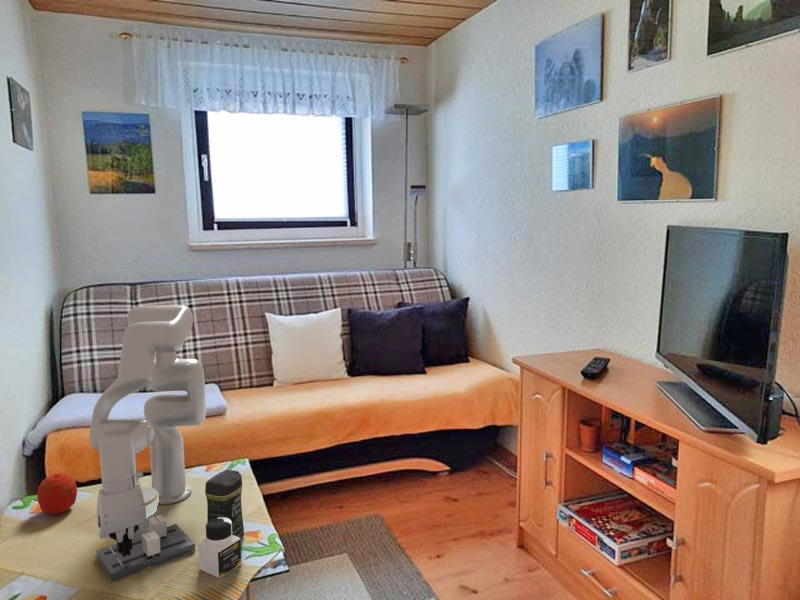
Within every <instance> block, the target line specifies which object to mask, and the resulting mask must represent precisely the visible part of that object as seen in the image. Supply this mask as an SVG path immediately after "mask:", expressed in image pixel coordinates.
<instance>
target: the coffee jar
mask: <svg viewBox="0 0 800 600" xmlns="http://www.w3.org/2000/svg"><path fill="white" fill-rule="evenodd" d="M204 491H205V493H204V494H205V498H206V503H207V507H206V508H207V516H206V517H207V521H206V522H207V523H208V522H209V521H210V520H212V519H214V518H218V517H226V518H229V519H230V520H231V521H232V535H234V536H237V537H239V538H240V540H243V537H244V535H245V527H244V519H243V508H242V507H243V506H242V491H243V477H242V473H240V472H239V471H238V470H232V469H224V470H223V471H221V472H218V473H217V474H215V475H214V476H212V477H211V478H209V479H207V481H205V489H204ZM207 523H206V524H207Z"/></svg>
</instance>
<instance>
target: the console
mask: <svg viewBox="0 0 800 600" xmlns="http://www.w3.org/2000/svg"><path fill="white" fill-rule="evenodd" d="M166 530H167V535H166V536H163V537H160V553H157V554H154V555H152V556H149V557H148V556H147V555H146V553H145V552H144V551H143V547H142V535H143V534H141V535H138V536H135V537H133V538H132V549H130V551H131V555H127V556H125V557H123V556H122V554H121V553H118V550H117V543H115V544H111V545H108V546H105V547H103V548H99V549H96V550H95V554H96V556H95V557H96V559H97V561H98V562H100V563H99V564H100V566H101V568H102V569H103V571H104V572H105V574H106V576H107V577H108V579H109V581H110V582H111V583H112V582H115V581H118V580H120V579H123V578H126V577H129V576H131V574H132V575H134V574H136V572H137V573H140V572H142V571H144V570H143V569H145V570H147V569H146V568H148V567H150V568H152V567H151V566H153V567H156V566H158V565H161V564H163V563H166V562H169V561H171V559H172V560H174V558H175V559H177V558H180V557H183V556H185V554H186V555H188V554H191V553H194V552H195V551H196V543H195V542H194V541H193V540H192V539H191V538H190V537H189V535H187V533H185V532H184V531H183V530H182V528H181V527H180V526H179V525H178V524H177V523H174V524H171V525H167V526H166ZM193 551H194V552H193ZM155 565H156V566H155ZM148 569H149V568H148ZM141 570H142V571H141ZM139 571H140V572H139Z"/></svg>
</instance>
